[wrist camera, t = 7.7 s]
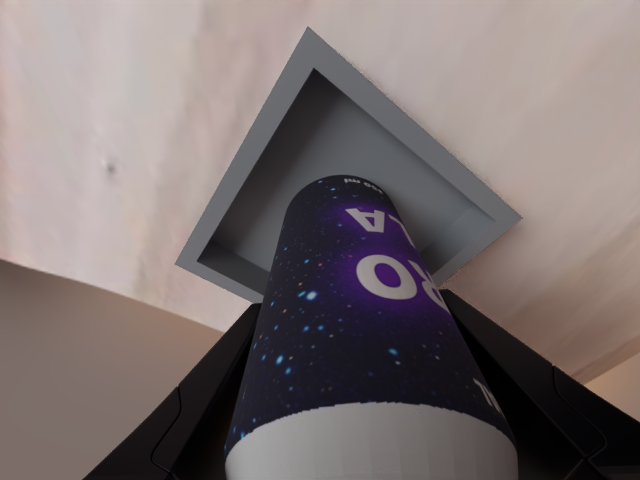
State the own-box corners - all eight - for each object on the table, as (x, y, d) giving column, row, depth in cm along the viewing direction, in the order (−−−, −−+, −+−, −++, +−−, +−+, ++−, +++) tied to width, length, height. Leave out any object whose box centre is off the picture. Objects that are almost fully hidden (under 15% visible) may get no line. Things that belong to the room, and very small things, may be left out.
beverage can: (380, 268, 16) (478, 602, 6) (283, 260, 16) (216, 593, 6) (405, 174, 13) (675, 517, 3) (287, 162, 13) (163, 492, 3)
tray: (488, 192, 15) (522, 218, 12) (351, 316, 20) (355, 353, 17) (310, 35, 11) (307, 26, 9) (197, 233, 16) (174, 264, 14)
